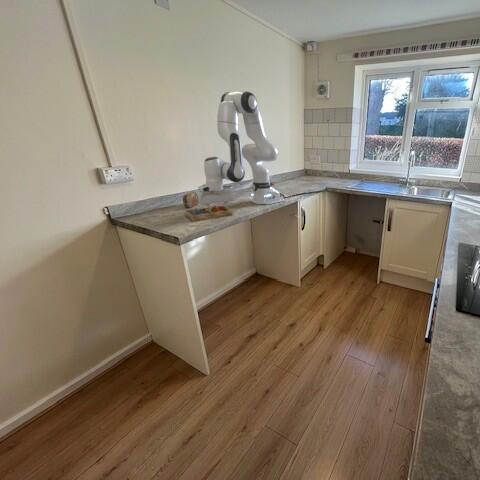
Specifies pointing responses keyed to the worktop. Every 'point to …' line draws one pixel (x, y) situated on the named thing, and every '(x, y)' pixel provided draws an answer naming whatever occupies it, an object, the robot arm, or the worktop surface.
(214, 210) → the terracotta spoon
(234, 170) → the robot arm
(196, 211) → the blue spoon
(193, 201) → the tin
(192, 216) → the cutlery tray
